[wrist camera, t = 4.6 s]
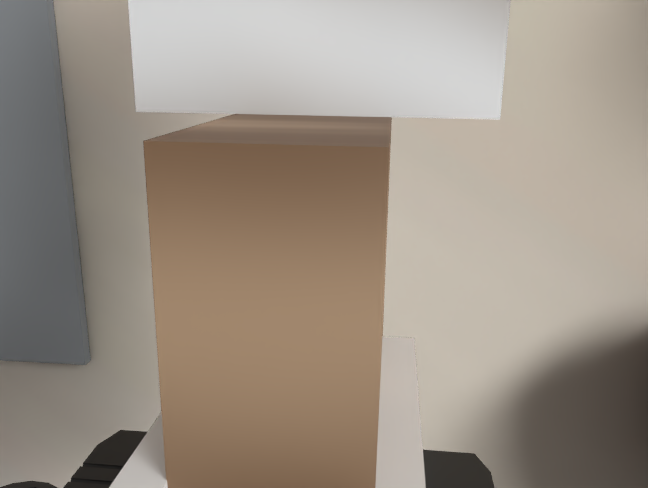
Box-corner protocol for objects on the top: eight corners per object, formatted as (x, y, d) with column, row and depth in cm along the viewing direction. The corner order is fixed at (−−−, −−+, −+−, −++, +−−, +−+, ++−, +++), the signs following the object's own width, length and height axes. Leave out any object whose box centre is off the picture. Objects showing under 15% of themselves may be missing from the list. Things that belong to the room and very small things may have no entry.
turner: (449, 584, 16) (479, 870, 10) (187, 559, 17) (80, 813, 11) (529, -363, 11) (685, -863, 5) (135, -340, 11) (-131, -755, 6)
